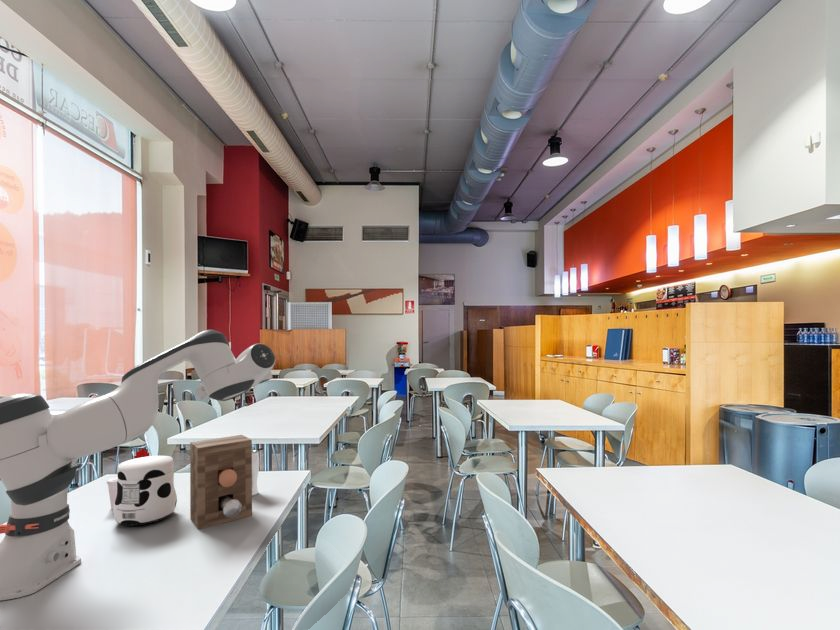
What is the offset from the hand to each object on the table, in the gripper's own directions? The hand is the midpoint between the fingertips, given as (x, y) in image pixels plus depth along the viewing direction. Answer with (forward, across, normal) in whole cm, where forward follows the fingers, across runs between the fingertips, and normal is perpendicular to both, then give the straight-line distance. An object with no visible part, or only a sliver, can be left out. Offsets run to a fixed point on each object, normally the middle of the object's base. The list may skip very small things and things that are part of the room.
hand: (225, 390), depth 139 cm
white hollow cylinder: (+39, +12, -31) cm, 51 cm away
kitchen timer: (+72, -12, -13) cm, 74 cm away
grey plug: (+17, -5, -34) cm, 38 cm away
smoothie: (+57, -24, -17) cm, 64 cm away
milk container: (+40, -20, -25) cm, 51 cm away
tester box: (+25, -4, -34) cm, 42 cm away
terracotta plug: (+18, -3, -25) cm, 31 cm away
